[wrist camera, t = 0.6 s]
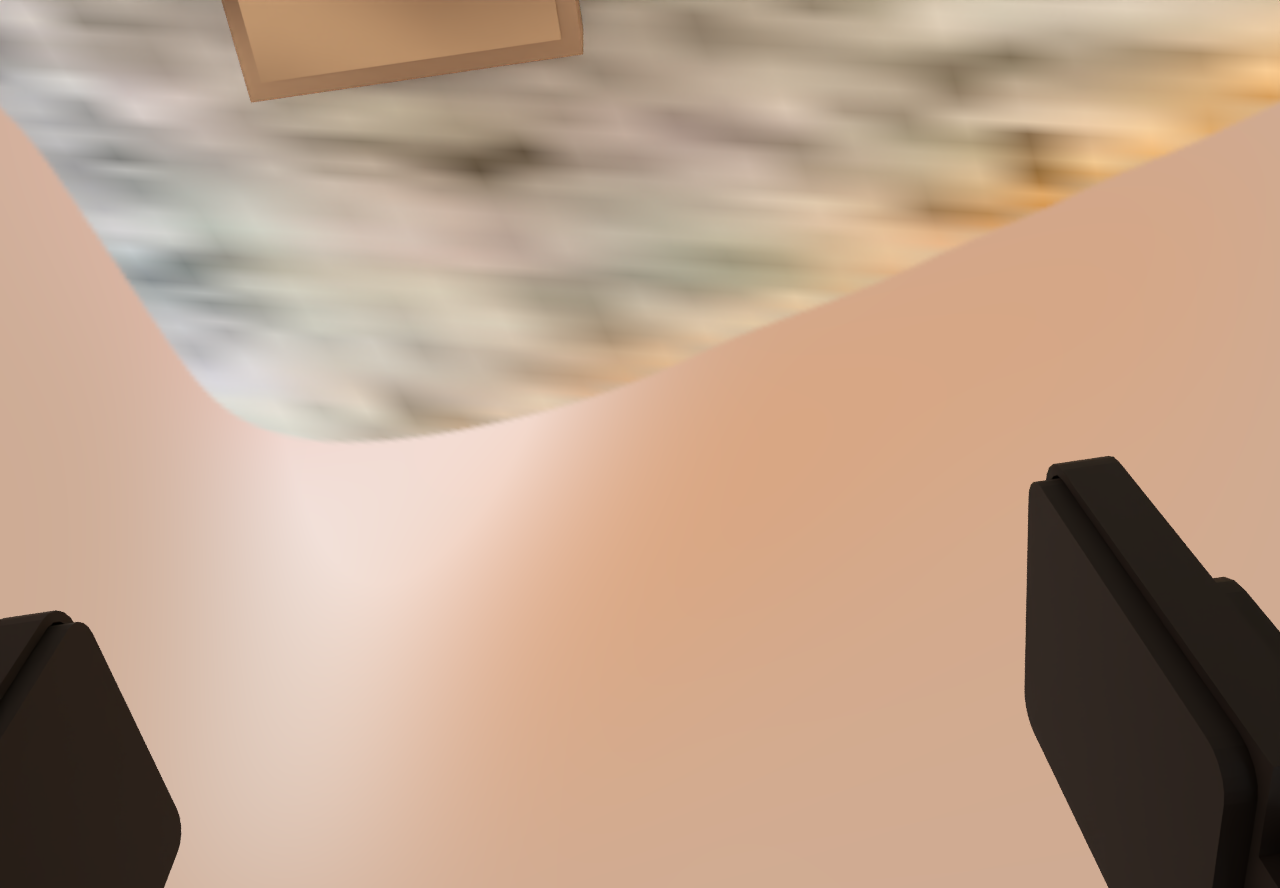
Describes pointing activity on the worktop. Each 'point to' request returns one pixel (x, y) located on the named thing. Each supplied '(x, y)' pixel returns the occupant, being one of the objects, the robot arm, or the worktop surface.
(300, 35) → the plinth
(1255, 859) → the robot arm
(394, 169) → the worktop surface
